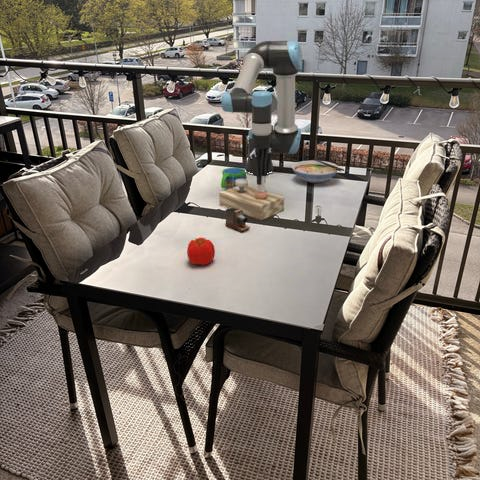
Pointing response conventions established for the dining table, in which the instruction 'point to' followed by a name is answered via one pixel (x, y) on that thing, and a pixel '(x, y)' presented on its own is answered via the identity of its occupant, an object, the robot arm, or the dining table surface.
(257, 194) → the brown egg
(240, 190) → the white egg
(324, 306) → the dining table surface
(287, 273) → the dining table surface
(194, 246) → the tomato
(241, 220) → the electronic device
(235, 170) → the snack cup
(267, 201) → the switch box
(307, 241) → the dining table surface
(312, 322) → the dining table surface
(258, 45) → the robot arm
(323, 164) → the ramen bowl
